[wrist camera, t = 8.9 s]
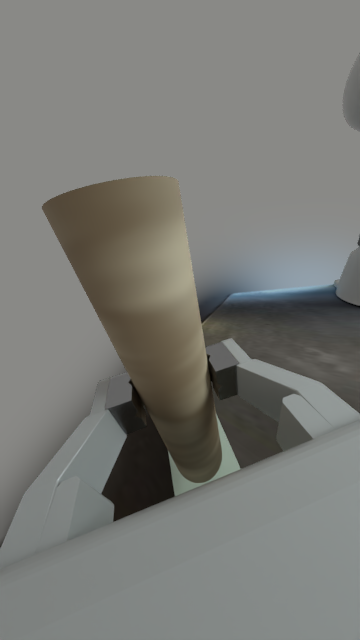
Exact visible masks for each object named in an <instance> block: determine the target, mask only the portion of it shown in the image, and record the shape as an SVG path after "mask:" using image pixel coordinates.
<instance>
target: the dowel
mask: <svg viewBox="0 0 360 640" xmlns="http://www.w3.org/2000/svg"><path fill="white" fill-rule="evenodd" d="M42 209H43V211H44V213H45V215H46V217H47V219H48V221H49V223H50V225H51V227H52V229H53V230H54V232H55V234H56V236H57V238H58V240H59V242H60V244H61V246H62V248H63V250H64V252H65V253H66V255H67V257H68V259H69V261H70V263H71V265H72V267H73V269H74V271H75V273H76V274H77V276H78V278H79V280H80V282H81V284H82V286H83V288H84V290H85V292H86V294H87V296H88V298H89V300H90V302H91V303H92V305H93V307H94V309H95V311H96V313H97V315H98V317H99V319H100V321H101V322H102V325H103V326H104V328H105V330H106V332H107V334H108V336H109V338H110V340H111V342H112V344H113V346H114V348H115V349H116V351H117V353H118V355H119V357H120V359H121V361H122V363H123V365H124V367H125V369H126V370H127V373H128V374H129V376H130V378H131V380H132V382H133V384H134V386H135V388H136V390H137V392H138V394H139V396H140V397H141V399H142V401H143V403H144V405H145V407H146V409H147V411H148V413H149V415H150V417H151V419H152V420H153V422H154V424H155V426H156V428H157V430H158V432H159V434H160V436H161V438H162V440H163V442H164V444H165V445H166V447H167V449H168V451H169V453H170V455H171V457H172V459H173V461H174V463H175V465H176V467H177V468H178V470H179V472H180V473H181V475H182V476H183V477H184V478H185V479H187V480H188V481H191V482H193V483H204V482H207V481H209V480H210V479H212V478H213V477H214V476H215V475H216V473H217V472H218V470H219V468H220V465H221V462H222V448H221V442H220V436H219V430H218V423H217V417H216V411H215V405H214V399H213V392H212V386H211V380H210V374H209V368H208V362H207V355H206V349H205V343H204V337H203V331H202V325H201V318H200V312H199V306H198V300H197V294H196V287H195V282H194V276H193V269H192V263H191V257H190V251H189V244H188V238H187V232H186V226H185V220H184V214H183V207H182V201H181V195H180V189H179V183H178V180H177V179H175V178H172V177H167V176H145V177H133V178H126V179H119V180H113V181H108V182H103V183H98V184H93V185H90V186H86V187H82V188H79V189H75V190H72V191H69V192H66V193H63V194H61V195H58V196H56V197H54V198H52V199H50V200H49V201H47V202H46V203H44V204H43V206H42Z"/></svg>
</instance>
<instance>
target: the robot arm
mask: <svg viewBox="0 0 360 640" xmlns="http://www.w3.org/2000/svg"><path fill="white" fill-rule="evenodd" d="M343 113H344V117H345V119H346V121H347V123H348V124H349V125H350V126H351V127H352V128H353V129H356V130H358V131H360V53H359V55H358V57H357V59H356V61H355V63H354V65H353V67H352V69H351V72H350V74H349V77H348V80H347V83H346V86H345V90H344V95H343ZM358 245H359V247H358V248H357V249H356V250H354V251H352V252H351V253H350V255H349V257H348V260H347V262H346V265H345V267H344V270H343V272H342V275H341V277H340V279H339V280H335V282H334V286H335V287H336V288H337V290H336V295H337V296H338V297H339V298H341V299H342V300H344V301H346V302H349V303H352V304H355V305H358V306H360V235H359V241H358ZM205 349H206V355H207V362H208V368H209V374H210V380H211V381H212V383H213V388H214V390H215V392H216V394H217V396H218V398H219V400H223V399H226V398H229V397H232V396H235V395H238V396H239V397H241V398H242V399H244V400H245V401H247V402H248V403H250V404H251V405H253V406H255V407H256V408H258V409H259V410H261V411H262V412H264V413H265V414H267V415H268V416H270V417H271V418H273V419H274V420H276V421H277V422H279V424H278V430H277V436H276V440H277V442H278V443H279V445H280V446H281V448H282V449H283V452H281V453H278V454H276V455H274V456H271V457H269V458H266V459H264V460H262V461H259V462H257V463H254V464H252V465H249V466H247V467H245V468H242V469H240V470H237V471H235V472H233V473H230V474H228V475H225V476H223V477H220V478H218V479H216V480H213V481H211V482H208V483H206V484H204V485H201V486H199V487H196V488H194V489H192V490H189V491H187V492H184V493H182V494H179V495H177V496H175V497H172V498H170V499H167V500H165V501H163V502H160V503H158V504H155V505H153V506H151V507H148V508H146V509H143V510H141V511H138V512H136V513H134V514H131V515H129V516H126V517H124V518H122V519H119V520H117V521H114V522H113V516H114V504H113V503H112V502H111V501H110V500H109V499H107V498H106V497H105V496H103V495H102V494H101V493H102V490H103V488H104V486H105V484H106V482H107V479H108V477H109V475H110V473H111V470H112V468H113V466H114V464H115V462H116V459H117V457H118V455H119V453H120V451H121V448H122V446H123V444H124V442H125V439H126V437H127V434H130V433H133V432H135V431H138V430H140V429H143V428H145V427H147V426H146V411H145V409H144V407H143V406H144V403H143V401H142V399H141V397H140V396H139V394H138V392H137V390H136V388H135V386H134V384H133V382H132V380H131V378H130V376H129V374H128V373H127V372H126V373H122V374H119V375H116V376H112V377H110V378H107V379H103V380H100V381H99V382H98V385H97V389H96V392H95V397H94V400H93V404H92V408H91V412H90V416H87V417H86V418H85V419H84V420H83V421H82V422H81V423H80V425H79V426H78V427H77V428H76V430H75V431H74V432H73V433H72V435H71V436H70V437H69V438H68V440H67V441H66V442H65V443H64V445H63V446H62V447H61V448H60V450H59V451H58V452H57V453H56V455H55V456H54V457H53V458H52V460H51V461H50V462H49V463H48V465H47V466H46V467H45V468H44V470H43V471H42V472H41V473H40V475H39V476H38V477H37V478H36V480H35V481H34V482H33V484H31V486H30V487H29V488H28V489H27V491H26V492H25V493H24V495H23V497H22V500H21V502H20V505H19V507H18V509H17V511H16V514H15V516H14V518H13V521H12V523H11V525H10V528H9V530H8V532H7V534H6V537H5V539H4V541H3V544H2V546H1V548H0V640H360V414H359V413H358V412H357V411H356V410H354V409H353V408H352V407H351V406H349V405H348V404H347V403H346V402H344V401H343V400H342V399H341V398H339V397H338V396H337V395H336V394H334V393H333V392H332V391H331V390H330V389H328V388H327V387H326V386H325V385H323V384H322V383H321V382H318V381H315V380H312V379H310V378H307V377H304V376H301V375H298V374H296V373H293V372H290V371H287V370H284V369H282V368H279V367H276V366H273V365H271V364H268V363H265V362H262V361H259V360H257V359H253V360H251V359H250V357H249V356H248V355H247V354H246V353H245V352H244V351H243V350H242V349H241V348H240V347H239V346H238V345H237V343H236V342H235V341H234V340H233V339H231V338H230V339H227V340H224V341H221V342H219V343H216V344H213V345H210V346H206V347H205Z"/></svg>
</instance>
